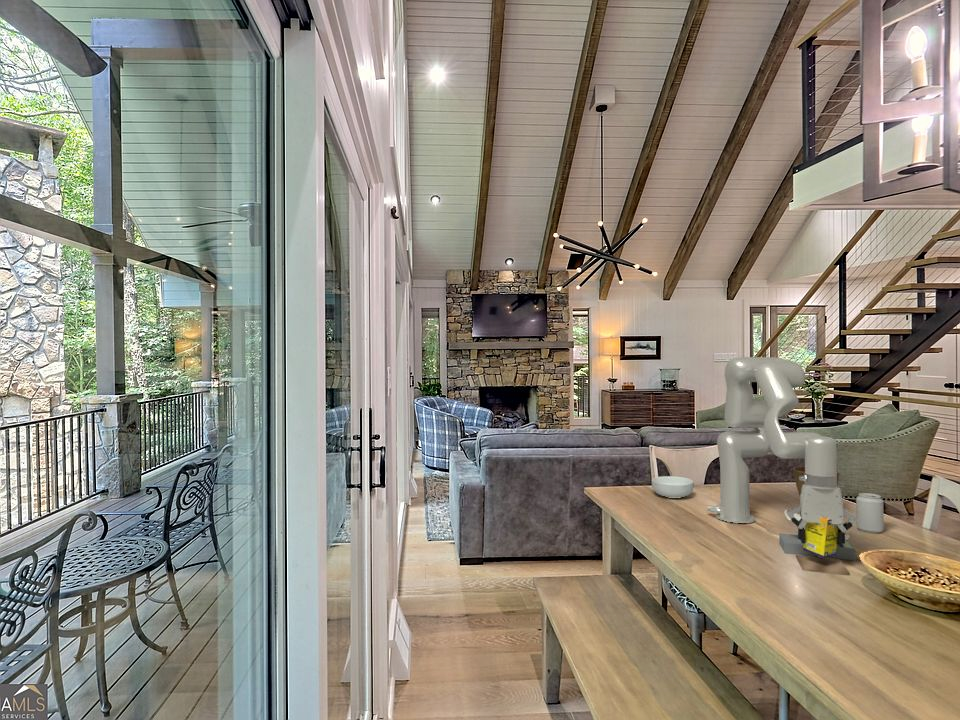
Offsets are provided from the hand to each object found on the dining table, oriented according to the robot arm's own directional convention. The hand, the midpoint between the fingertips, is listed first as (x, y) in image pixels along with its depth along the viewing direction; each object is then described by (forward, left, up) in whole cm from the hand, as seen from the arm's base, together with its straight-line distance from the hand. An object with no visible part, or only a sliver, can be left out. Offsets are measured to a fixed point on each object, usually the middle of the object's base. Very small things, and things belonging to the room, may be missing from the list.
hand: (821, 543), depth 156 cm
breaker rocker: (+1, +13, +2) cm, 13 cm away
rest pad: (0, 0, -6) cm, 6 cm away
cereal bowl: (-41, +70, -6) cm, 81 cm away
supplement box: (0, +1, -3) cm, 3 cm away
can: (+22, +42, -6) cm, 48 cm away
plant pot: (+10, +62, -6) cm, 63 cm away
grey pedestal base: (+1, +13, -6) cm, 14 cm away
